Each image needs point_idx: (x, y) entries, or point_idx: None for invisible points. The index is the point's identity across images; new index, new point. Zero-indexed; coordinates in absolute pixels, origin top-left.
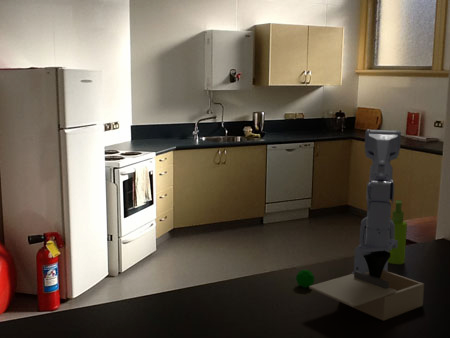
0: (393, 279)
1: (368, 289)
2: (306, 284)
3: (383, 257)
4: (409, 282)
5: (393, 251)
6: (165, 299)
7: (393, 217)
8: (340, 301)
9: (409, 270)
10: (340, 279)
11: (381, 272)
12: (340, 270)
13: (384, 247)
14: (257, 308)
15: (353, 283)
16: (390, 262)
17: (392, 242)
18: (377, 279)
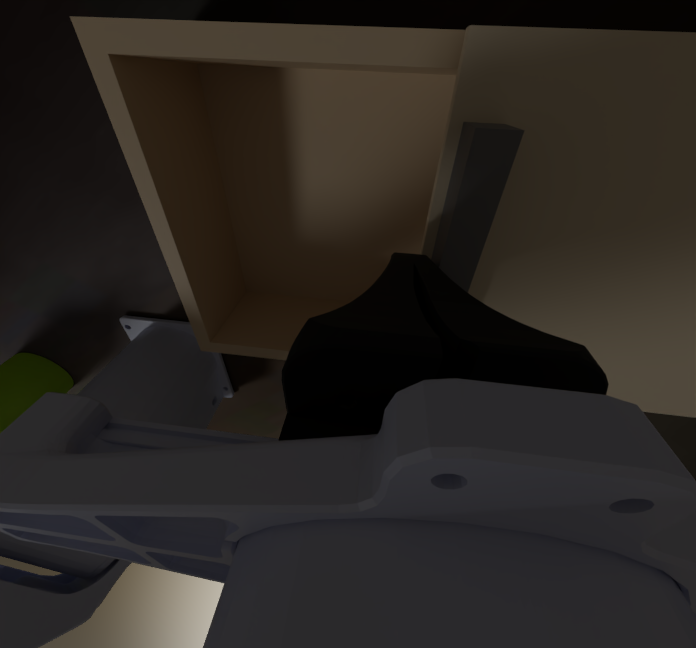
0: (201, 261)
1: (599, 210)
2: None
3: (497, 342)
4: (156, 157)
5: (24, 399)
6: None
7: None
8: None
9: (27, 316)
10: None
11: (396, 268)
12: (245, 416)
13: (576, 543)
14: (669, 421)
15: (533, 323)
16: (65, 374)
17: (84, 519)
18: (482, 234)
